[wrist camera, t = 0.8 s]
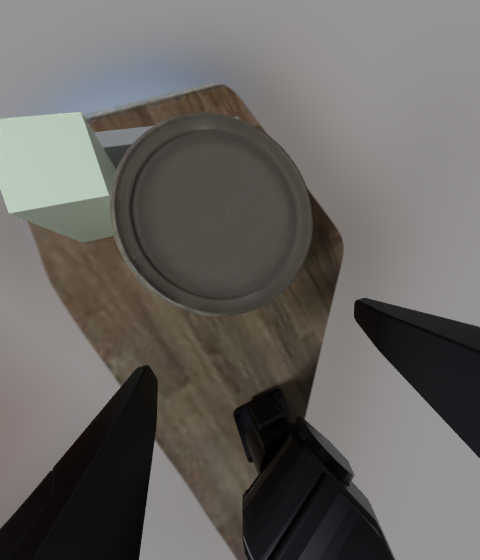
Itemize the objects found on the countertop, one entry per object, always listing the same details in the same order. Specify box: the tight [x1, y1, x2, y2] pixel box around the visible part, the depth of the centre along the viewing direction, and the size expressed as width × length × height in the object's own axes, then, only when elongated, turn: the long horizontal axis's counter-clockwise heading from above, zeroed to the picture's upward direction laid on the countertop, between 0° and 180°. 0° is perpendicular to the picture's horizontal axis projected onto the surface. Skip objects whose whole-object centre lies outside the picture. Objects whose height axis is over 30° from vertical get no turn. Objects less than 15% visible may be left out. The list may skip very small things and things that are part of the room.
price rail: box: [94, 117, 239, 169], centre depth 21 cm, size 2×20×4 cm, turn 107°
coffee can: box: [110, 112, 313, 316], centre depth 17 cm, size 10×10×14 cm
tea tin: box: [0, 112, 116, 243], centre depth 17 cm, size 6×6×9 cm
